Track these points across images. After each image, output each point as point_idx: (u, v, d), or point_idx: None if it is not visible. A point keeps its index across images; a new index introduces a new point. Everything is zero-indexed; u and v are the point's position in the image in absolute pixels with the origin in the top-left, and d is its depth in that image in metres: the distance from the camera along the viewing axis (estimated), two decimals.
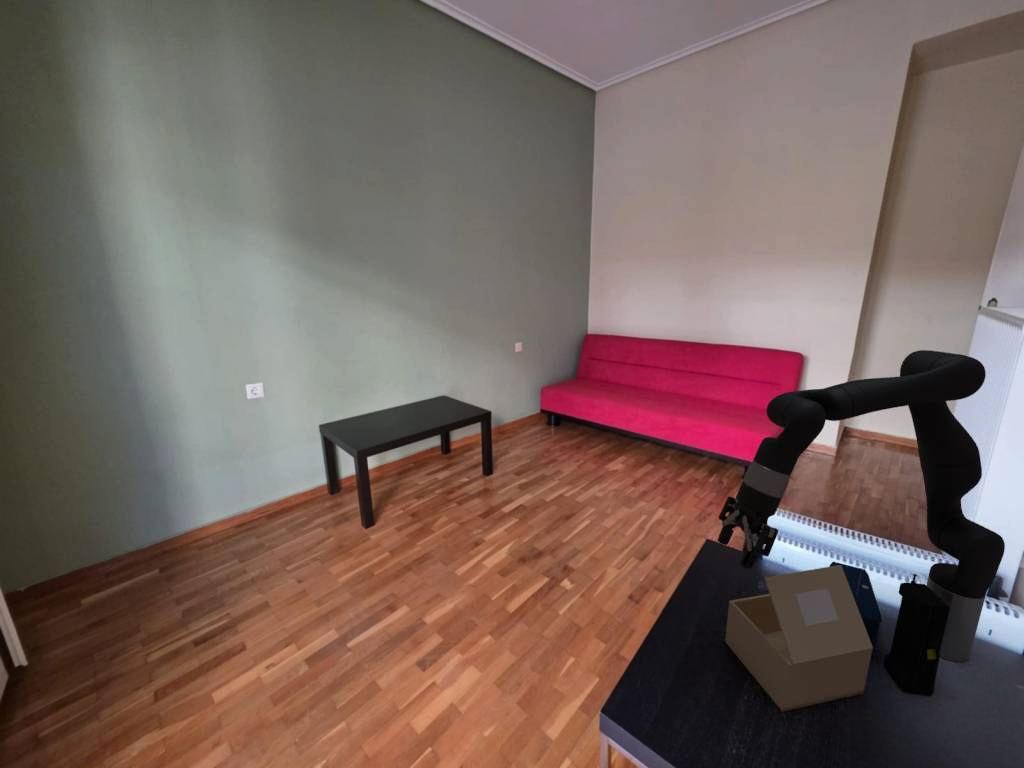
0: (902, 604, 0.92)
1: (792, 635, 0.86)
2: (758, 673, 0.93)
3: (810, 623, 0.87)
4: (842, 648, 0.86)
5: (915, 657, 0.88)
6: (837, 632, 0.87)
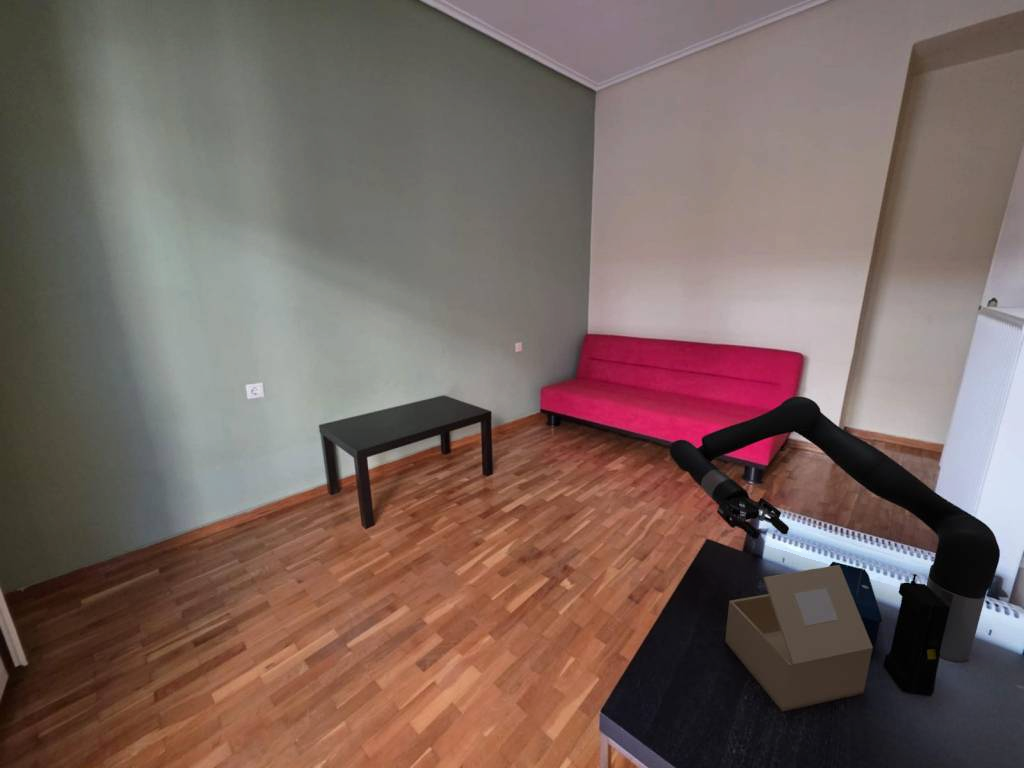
0: (902, 604, 0.92)
1: (791, 635, 0.86)
2: (758, 673, 0.93)
3: (809, 623, 0.87)
4: (842, 648, 0.86)
5: (915, 657, 0.88)
6: (837, 632, 0.87)
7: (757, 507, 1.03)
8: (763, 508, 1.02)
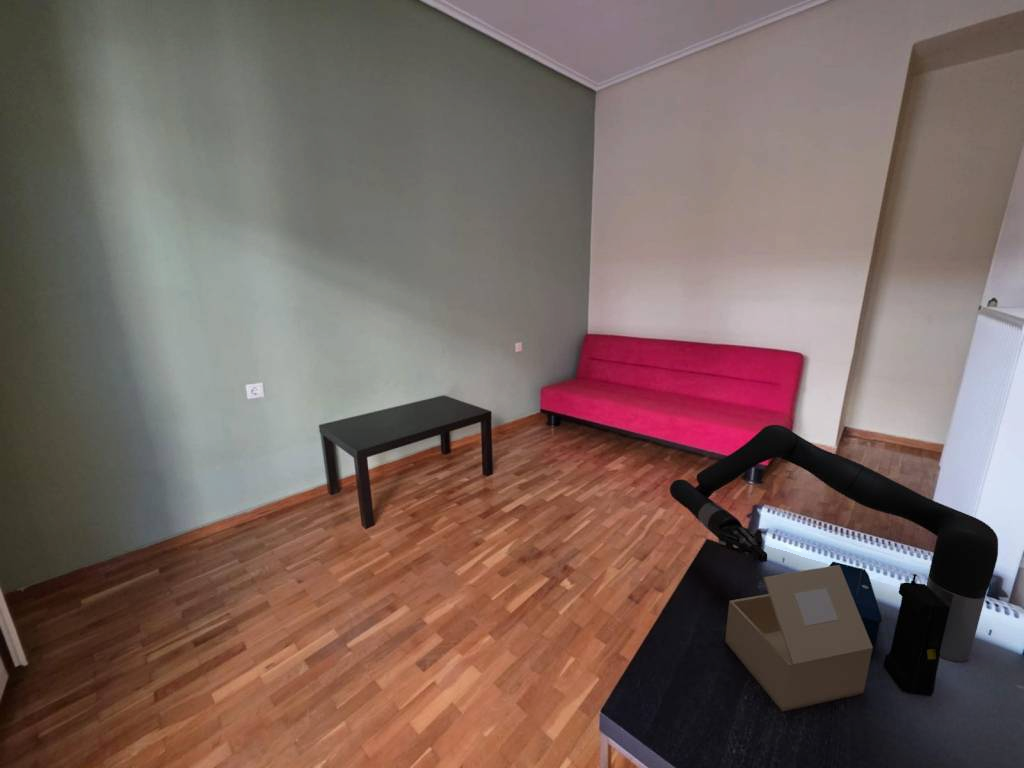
0: (902, 604, 0.92)
1: (791, 635, 0.86)
2: (758, 673, 0.93)
3: (809, 623, 0.87)
4: (842, 648, 0.86)
5: (915, 657, 0.88)
6: (837, 632, 0.87)
7: (743, 534, 1.10)
8: (747, 536, 1.09)
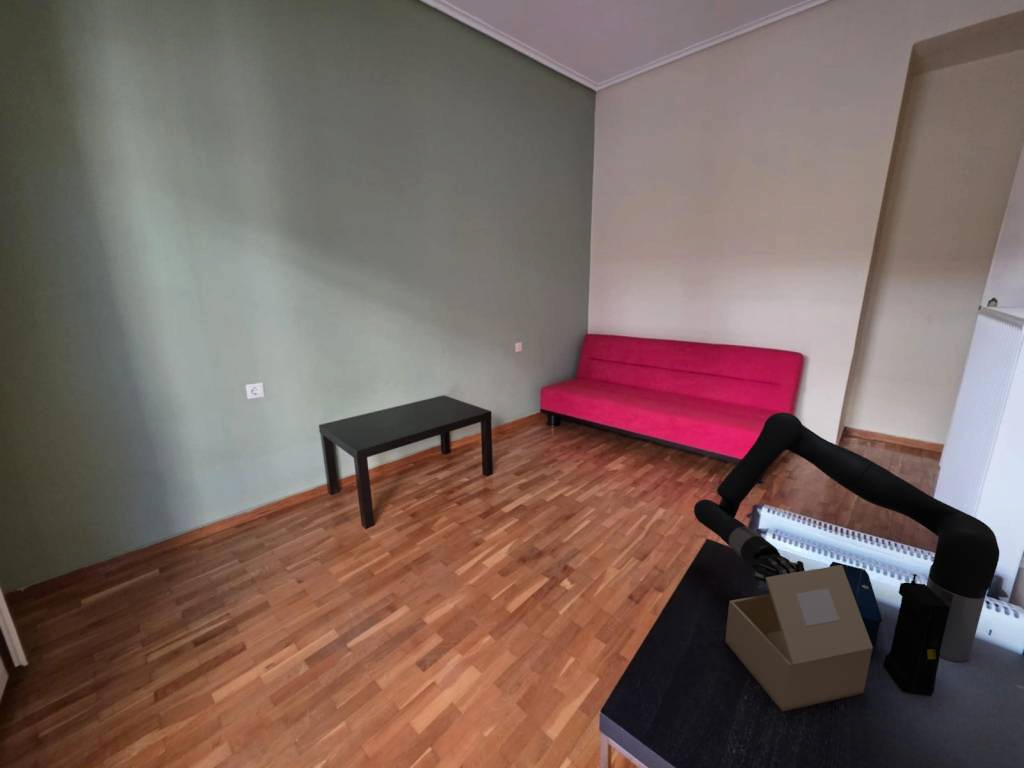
0: (902, 604, 0.92)
1: (792, 635, 0.86)
2: (758, 673, 0.93)
3: (810, 623, 0.87)
4: (842, 648, 0.86)
5: (915, 657, 0.88)
6: (837, 632, 0.87)
7: (783, 565, 0.97)
8: (788, 568, 0.96)
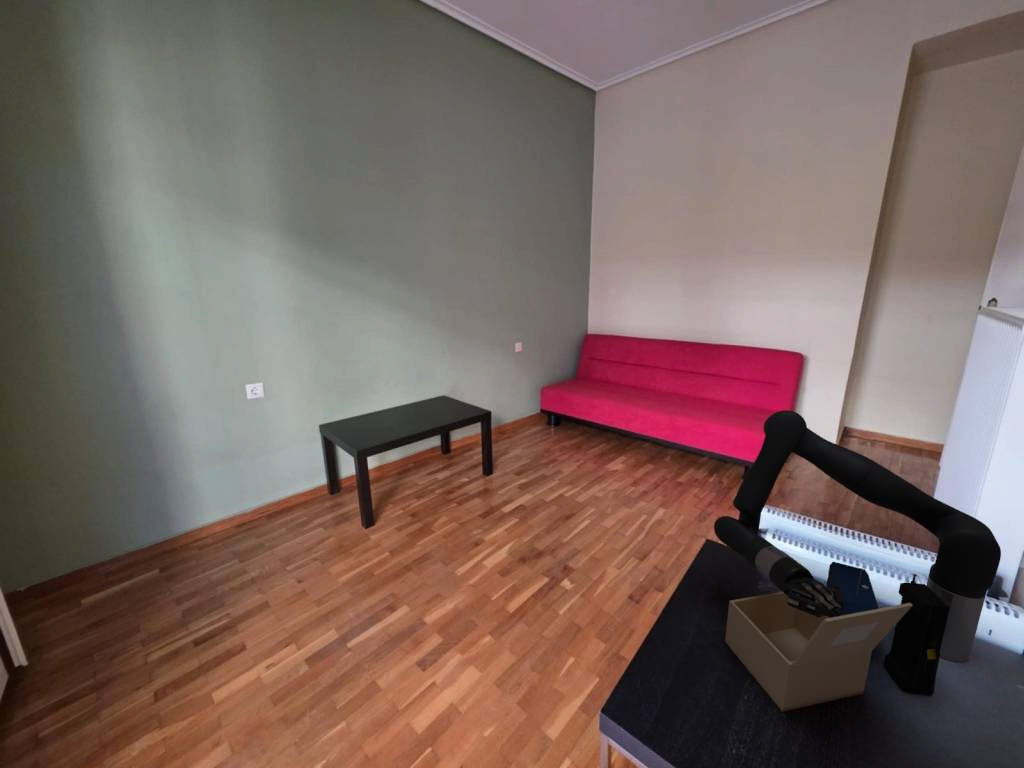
0: None
1: (810, 652, 0.81)
2: (758, 673, 0.93)
3: (835, 644, 0.81)
4: (846, 653, 0.85)
5: (915, 657, 0.88)
6: (853, 645, 0.84)
7: (819, 590, 0.88)
8: (825, 594, 0.87)
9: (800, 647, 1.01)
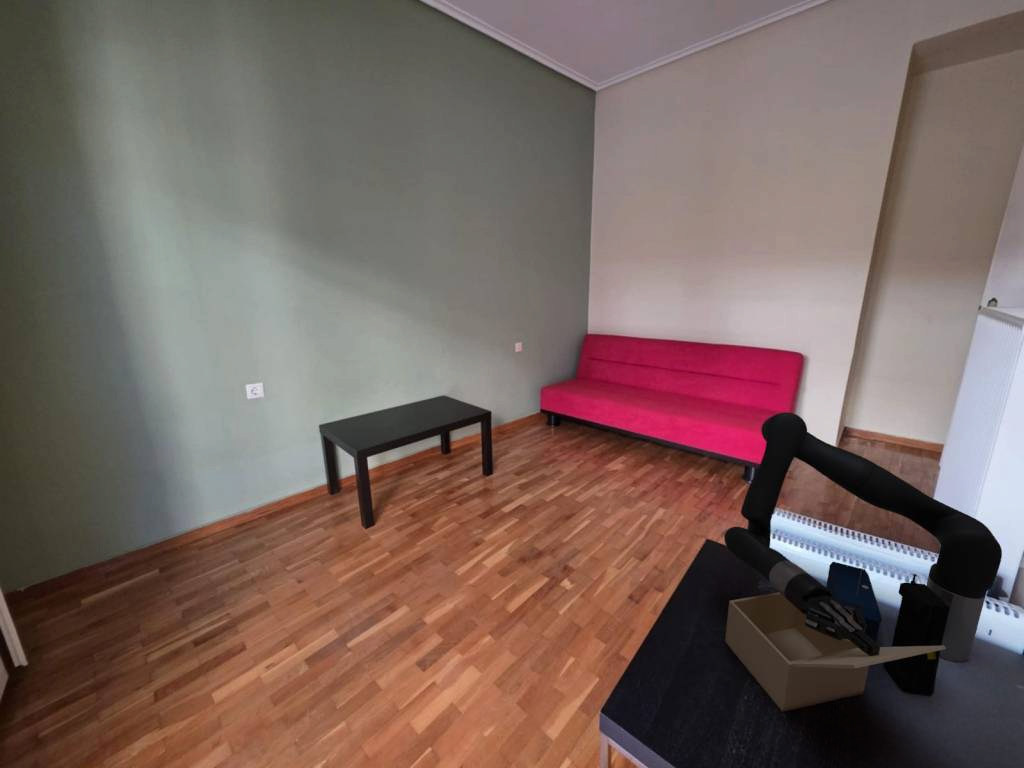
0: (902, 604, 0.92)
1: None
2: (758, 673, 0.93)
3: None
4: None
5: (915, 657, 0.88)
6: None
7: (838, 611, 0.84)
8: (845, 615, 0.83)
9: (800, 647, 1.01)
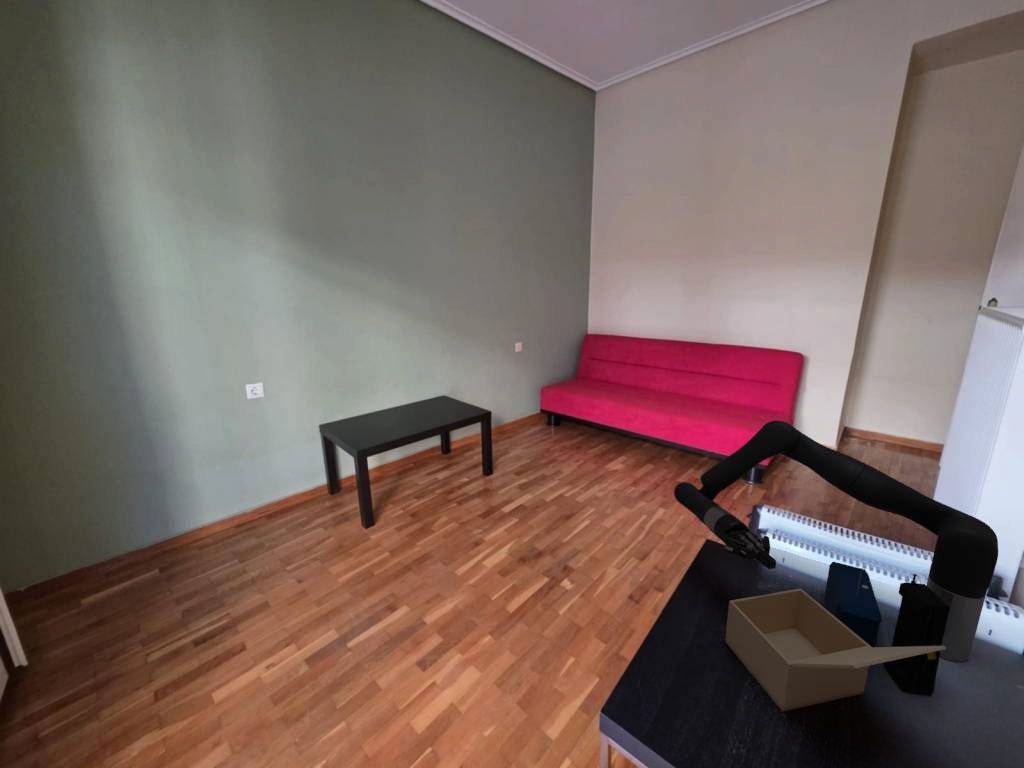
0: (902, 604, 0.92)
1: None
2: (758, 673, 0.93)
3: None
4: None
5: (915, 657, 0.88)
6: None
7: (751, 539, 1.07)
8: (755, 541, 1.06)
9: (800, 647, 1.01)
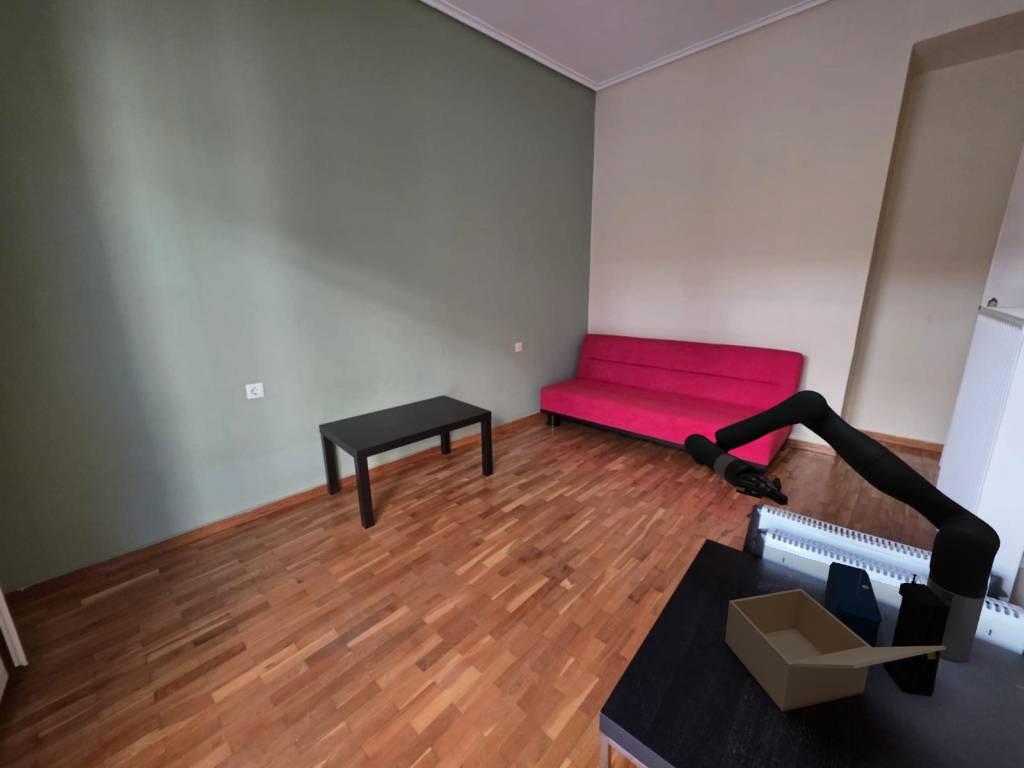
0: (902, 604, 0.92)
1: None
2: (758, 673, 0.93)
3: None
4: None
5: (915, 657, 0.88)
6: None
7: (762, 480, 1.07)
8: (766, 481, 1.06)
9: (800, 647, 1.01)
